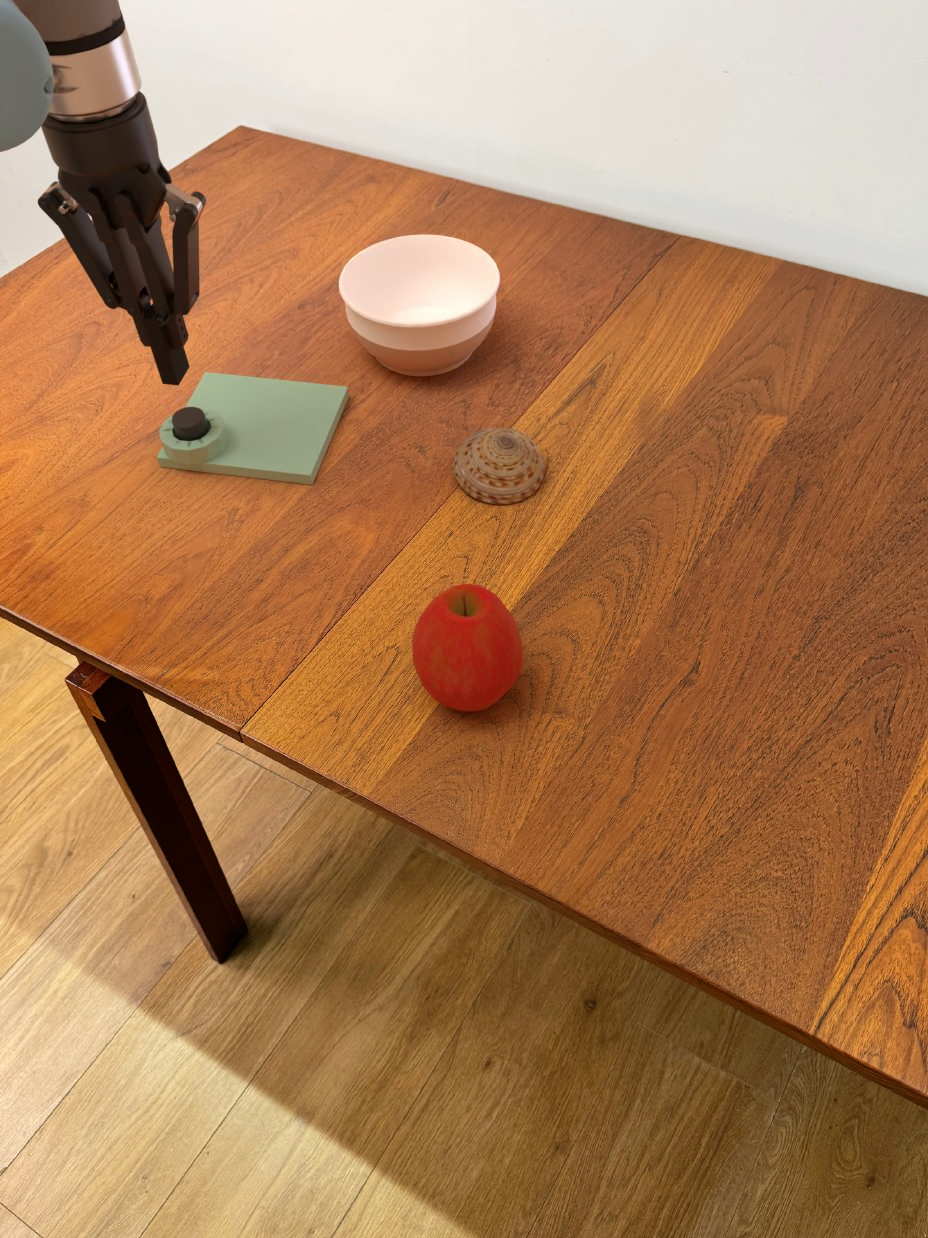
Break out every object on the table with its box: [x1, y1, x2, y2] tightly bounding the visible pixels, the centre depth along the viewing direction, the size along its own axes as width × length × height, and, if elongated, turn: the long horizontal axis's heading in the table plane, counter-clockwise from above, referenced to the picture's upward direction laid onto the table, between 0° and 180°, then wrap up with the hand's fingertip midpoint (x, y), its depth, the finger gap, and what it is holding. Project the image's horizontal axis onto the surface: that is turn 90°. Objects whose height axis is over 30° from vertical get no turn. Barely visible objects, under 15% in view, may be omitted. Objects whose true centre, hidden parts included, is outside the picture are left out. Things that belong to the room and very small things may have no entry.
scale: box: [156, 371, 350, 486], centre depth 95 cm, size 15×13×3 cm
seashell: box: [452, 427, 545, 505], centre depth 91 cm, size 8×6×8 cm
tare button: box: [171, 406, 208, 442], centre depth 92 cm, size 3×3×2 cm
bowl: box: [338, 234, 501, 377], centre depth 102 cm, size 16×16×8 cm
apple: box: [411, 582, 524, 712], centre depth 73 cm, size 8×8×11 cm
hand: (176, 374), depth 88 cm, fingers closed
